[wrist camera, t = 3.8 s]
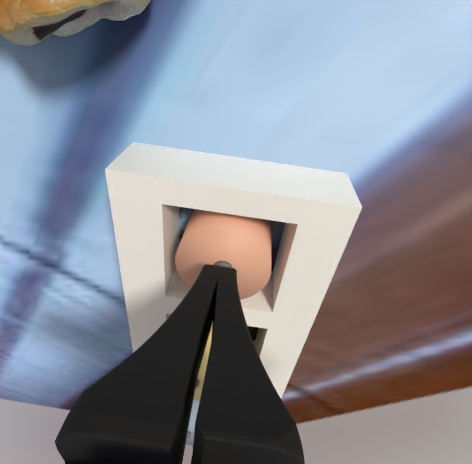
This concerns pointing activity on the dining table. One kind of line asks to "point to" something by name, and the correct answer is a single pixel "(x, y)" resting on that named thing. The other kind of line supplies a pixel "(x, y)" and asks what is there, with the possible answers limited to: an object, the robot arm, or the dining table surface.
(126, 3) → the pastry
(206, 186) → the button panel
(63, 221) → the dining table surface
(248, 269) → the terracotta button
